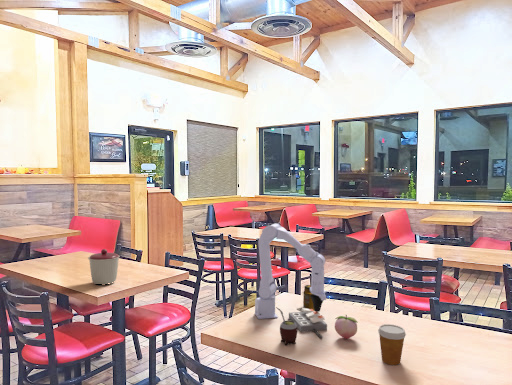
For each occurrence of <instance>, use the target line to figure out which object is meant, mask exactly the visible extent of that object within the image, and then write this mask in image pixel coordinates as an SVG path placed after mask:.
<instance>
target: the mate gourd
mask: <svg viewBox="0 0 512 385" xmlns="http://www.w3.org/2000/svg"><path fill="white" fill-rule="evenodd" d="M275 309H277V310H278V311H279V312H280V315H281V316H282V317H281V318H282V322H281V323H280V326H279V333H280V342H284V345H285V346H288V345H289V344H292V345H295V344H296V345H297V342H296V341H297V336H298V328H297V325H296V323H295V322H293V321H291V320H286V319H285V317H284V313H283V311H282V310H281V308H279V307H277V306H275Z"/></svg>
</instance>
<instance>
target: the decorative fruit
mask: <svg viewBox="0 0 512 385" xmlns="http://www.w3.org/2000/svg"><path fill="white" fill-rule="evenodd" d="M334 320H336V321H335V323H334V330H335V331H336V334H338V335H339V336H340V337H342V338H343V339H345V340H346V339H350V338H352V337H354V336H356V334H357V332H358V324H357V323H358V321H357V320H356V319H355V318H354V317H350V316H347V314H345V316H344V315H339V316H337V317H336V318H335V319H334Z"/></svg>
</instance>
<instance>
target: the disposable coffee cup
mask: <svg viewBox="0 0 512 385" xmlns="http://www.w3.org/2000/svg"><path fill="white" fill-rule="evenodd" d="M377 331H378V334H379V343H380V354H381V361H382V362H383V363H385V364H386V363H387V364H386V365H390V366H398V365H397V364H399V365H400V364H401V361H402V354H403V347H404V341H405V337H406V335H407V334H406V331H405V329H404V328H403V327H401V326H400V325H396V324H390V323H389V324H388V323H387V324H381V325H379V328H378V329H377Z"/></svg>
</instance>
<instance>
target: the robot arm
mask: <svg viewBox="0 0 512 385" xmlns="http://www.w3.org/2000/svg"><path fill="white" fill-rule="evenodd" d="M274 239H277V240H284V241H285V242H286V243H288V244H289V245H291V247H293V248H294V249H296V250H297V254H298V255H299V256H301V258H303V259H304V260H305V261H306V262H308V263H309V264H310V267H311V281H310V282H311V284H310V285H311V287H310V291H311V293H312V294H313V295H310V297H311V299H312V302H313V306H314V310H315V312H319V313H320V312H321V310H322V305H323V302H324V301H326V300H327V296H326V293H327V290H325V264H326V258H325V256H324V255H323V254H321V253H319V252H318V251H315V250H314V249H313V248H312V247H311V245H310V244H307V243H301V242H300V241H299V240H298V239H297V238H296V237H294V235H292V233H290V232H289V231H288V230H287V229H286V228H285V227H283V226H281V224H279V223H277V222H275V223H272V224H271V225H269V224H268V225H266V226H265V227H264V228H263V229H262V231H261V234H260V236H259V238H258V241H257V243H258V244H257V245H258V255H259V264H260V265H259V266H260V276H261V278H260V281H259V288H258V294H259V295H258V296H259V297H256V298H255V300H254V315H255V316H256V318H257V319H258V320H262V319H263V320H264V319H274V318H278V315H277V314H276V295H275V294H276V293H277V290H278V287H277V284H276V282H275V278H274V277H273V270H272V269H273V268H272V259H271V248H270V245H271V243H272V241H274Z"/></svg>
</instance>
